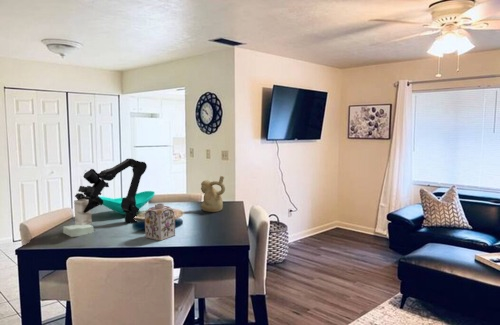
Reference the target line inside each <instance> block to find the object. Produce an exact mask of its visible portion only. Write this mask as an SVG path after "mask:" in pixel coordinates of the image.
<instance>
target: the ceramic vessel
mask: <svg viewBox="0 0 500 325" xmlns="http://www.w3.org/2000/svg"><path fill="white" fill-rule="evenodd" d="M224 179H225V177H224V176H221V175H220V176H219V180H218V181H215V180H213V181H209V180H208V179H207V180H206V179H205V180H203V181H202V182H201V183H200V186H201V187H200V190H201V192H202V193H203V194H204V195H203V200H202V203H201V205H200V208H201V210H202V211H203V212H204V211H205V212H209V213H216V212H217V213H218V212H221V211H222V210H223V208H224V207H223V206H224V204H223V203H224V202H223V199H222V195H223V194H224V193H225V191H226V187H225V184H224V183H223V182H224ZM215 185H216V186H219V187H220V188H221V189H220V190H219V191H218V190H217V189H216V188H214V186H215Z"/></svg>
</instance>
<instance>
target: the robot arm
mask: <svg viewBox="0 0 500 325" xmlns="http://www.w3.org/2000/svg"><path fill="white" fill-rule="evenodd" d="M130 167H131V168H132V169H131V170H132V177H131V180H130V184H129V189H128V191H127V195H126V196H125V197H126V198H124V197H122V198H123V199H122V202H121V207H122V209H123V212H126V214H124V222H125V223H126V224H136V223H138V220H137V221H135V220H134V219H133V218H134V217H135V216H137V215H138V214H137V213H139V212H140V209H138V208H137V207H136V200H135V196H136V194H137V191H138V189H139V185H140V181H141V178H142V176H143V175H144V173H145V172H146V170H147V168H148V165H147V163H146V162H145V161H139V160H136V159H134V158H126V159H125V160H123V161H122V162H120V163H118V164H116V165H115V166H113V167H111V168H106V169H104V170H101V171H100V172H99V173H98V172H97V171H96V170H95V169H94V168H90V170H87V171H85V172H84V174H83V179H85V180H86V181H87V182H88V183H89V184H91V185H87V186H84V185H79V187H78V190H77V192H78V193H76V194H75V195H74V197H75V199H76V200H80V199H88V200H89V203H88V205H87V206H86V208H85V210H84V213H86V212H88V211H89V210H91V211H92V210H93V209H94V208H97V207H99V206H103V205H102V204H103V203H104V202H103V200H102V199H101V198H100V197H101V195H102V191H103V190H104V189H105V188H110V186H109V181H112V180H114V179H115V178H116V176H117V175H118V174H119V173H121V172H122V171H124V170H126V169H128V168H130ZM106 181H107V182H106Z"/></svg>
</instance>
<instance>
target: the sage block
mask: <svg viewBox="0 0 500 325" xmlns="http://www.w3.org/2000/svg"><path fill="white" fill-rule="evenodd" d="M62 228H63V232H62V233H63V234H64V235H67V236H69V237H71V238H74V237H79V236H84V235H88V233H89V234H93V233H92V232H94V231H95V230H94V226H93V225H91V224H86V225H82V226H81V225H78V224H70V225H66V226H65V225H64V226H62Z"/></svg>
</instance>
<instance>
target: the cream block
mask: <svg viewBox="0 0 500 325" xmlns="http://www.w3.org/2000/svg"><path fill="white" fill-rule="evenodd" d="M73 203H74V204H73V205H74V223H75V224H78V225H81V226H82V225H86V224H89V225H91V224H92V209H91V210H89V211H88V212H86V213H84V210H85V208H86V206H87V205H88V203H89V200H88V199H80V200H78V199H76V200H74V202H73ZM75 224H74V225H75Z"/></svg>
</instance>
